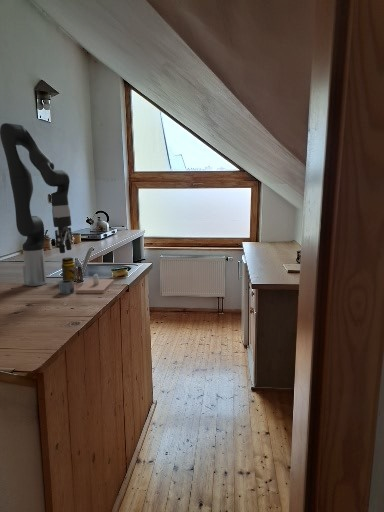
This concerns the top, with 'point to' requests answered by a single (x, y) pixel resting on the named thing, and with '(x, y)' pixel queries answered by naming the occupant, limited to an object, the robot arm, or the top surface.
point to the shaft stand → (95, 285)
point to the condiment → (68, 269)
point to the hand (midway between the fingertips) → (65, 251)
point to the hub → (66, 286)
